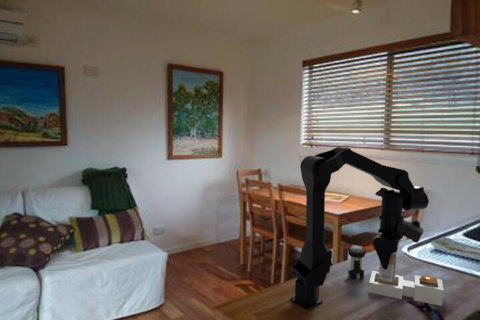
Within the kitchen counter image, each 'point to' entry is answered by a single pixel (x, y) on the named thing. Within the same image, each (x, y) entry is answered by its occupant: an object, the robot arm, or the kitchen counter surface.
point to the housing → (408, 289)
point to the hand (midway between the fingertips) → (387, 263)
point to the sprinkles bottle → (388, 271)
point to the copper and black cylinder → (428, 280)
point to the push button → (356, 262)
